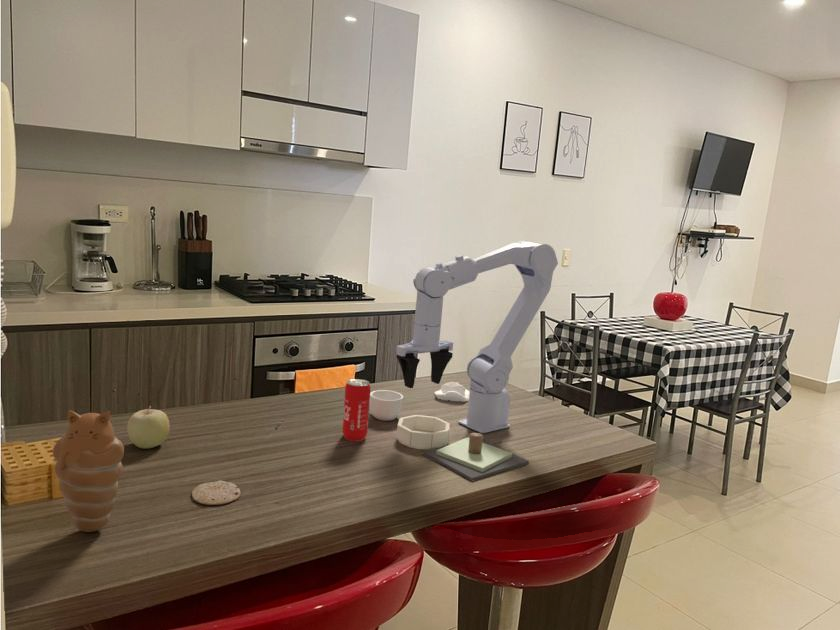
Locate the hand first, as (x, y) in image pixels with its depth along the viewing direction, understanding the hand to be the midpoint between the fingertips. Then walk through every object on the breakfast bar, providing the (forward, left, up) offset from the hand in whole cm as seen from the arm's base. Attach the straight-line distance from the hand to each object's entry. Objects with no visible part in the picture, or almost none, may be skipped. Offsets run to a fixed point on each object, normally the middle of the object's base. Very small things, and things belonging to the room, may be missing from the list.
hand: (422, 384), depth 138 cm
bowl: (+3, +5, -10) cm, 12 cm away
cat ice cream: (+68, +9, -11) cm, 69 cm away
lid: (0, +18, -10) cm, 20 cm away
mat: (0, +18, -10) cm, 21 cm away
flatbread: (+49, +7, -11) cm, 51 cm away
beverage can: (+15, -3, -11) cm, 19 cm away
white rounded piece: (-23, -14, -11) cm, 30 cm away
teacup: (+2, -11, -11) cm, 15 cm away
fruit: (+52, -18, -11) cm, 56 cm away
